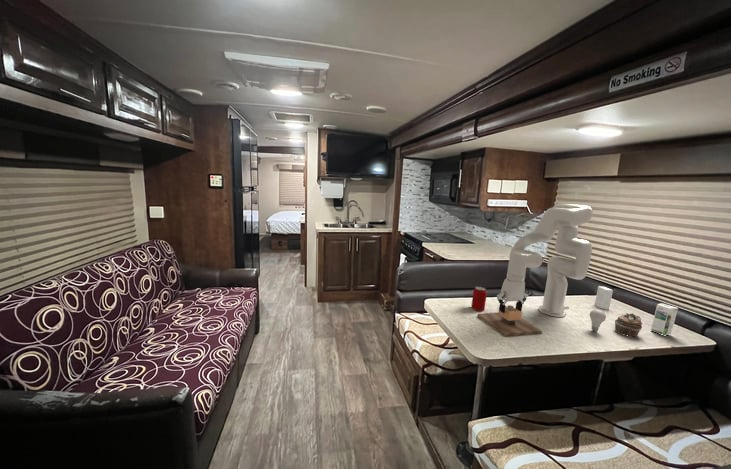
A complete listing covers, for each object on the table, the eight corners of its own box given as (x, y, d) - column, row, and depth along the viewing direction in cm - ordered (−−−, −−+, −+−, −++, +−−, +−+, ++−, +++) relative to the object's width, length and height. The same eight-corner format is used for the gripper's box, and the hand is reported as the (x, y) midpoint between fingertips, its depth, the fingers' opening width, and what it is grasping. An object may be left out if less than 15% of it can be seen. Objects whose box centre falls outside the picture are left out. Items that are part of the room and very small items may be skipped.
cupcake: (623, 327, 143) (627, 309, 142) (644, 338, 134) (649, 318, 132) (607, 328, 142) (611, 309, 140) (628, 338, 132) (633, 318, 131)
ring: (509, 313, 142) (511, 305, 142) (520, 319, 136) (522, 312, 135) (498, 314, 140) (499, 306, 140) (508, 320, 134) (509, 312, 133)
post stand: (509, 314, 151) (512, 297, 149) (541, 333, 132) (545, 314, 130) (477, 316, 146) (479, 299, 144) (505, 336, 127) (508, 317, 125)
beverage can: (482, 307, 158) (485, 286, 156) (486, 312, 151) (489, 291, 149) (469, 306, 158) (472, 285, 156) (473, 311, 152) (475, 289, 150)
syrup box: (649, 331, 142) (656, 304, 139) (656, 329, 144) (663, 302, 141) (664, 337, 136) (672, 308, 134) (671, 335, 139) (678, 307, 136)
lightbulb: (598, 335, 134) (603, 313, 132) (583, 329, 139) (588, 308, 137) (604, 333, 137) (609, 311, 135) (590, 327, 142) (594, 306, 140)
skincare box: (609, 309, 166) (613, 290, 164) (602, 309, 166) (606, 289, 164) (600, 305, 172) (605, 286, 170) (593, 304, 172) (597, 286, 170)
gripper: (524, 274, 140) (518, 307, 143) (494, 275, 136) (489, 308, 139) (536, 279, 133) (530, 313, 136) (506, 280, 129) (500, 315, 132)
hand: (510, 311), depth 137 cm, fingers open, 9 cm apart
